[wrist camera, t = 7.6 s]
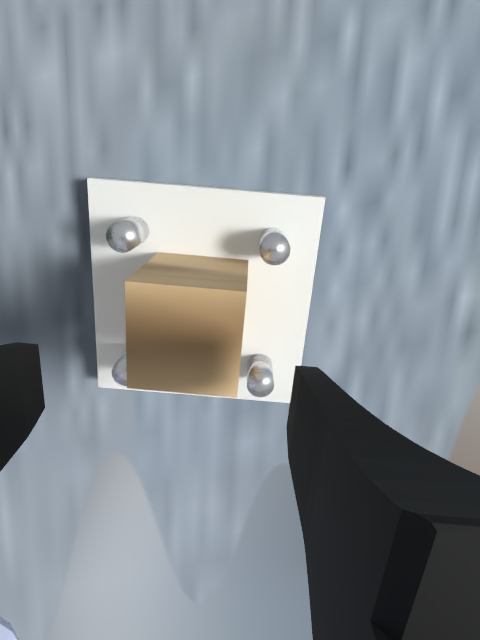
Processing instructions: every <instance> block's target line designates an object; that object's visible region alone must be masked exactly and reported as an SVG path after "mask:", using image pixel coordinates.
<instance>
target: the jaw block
mask: <svg viewBox="0 0 480 640" xmlns="http://www.w3.org/2000/svg"><path fill="white" fill-rule="evenodd" d="M248 261H249V260H243V259H232V258H221V257H209V256H198V255H187V254H175V253H164V252H158V253H157V254H156V255H155V256H153V257H152V258H151V259H150V260H149V261H148V262H147V263H145V264H144V265H143V266H142V267H141V268H140V269H138V270H137V271H136V272H135V273H134V274H133V275H131V276H130V277H129V278H128V279H127V280H126V281H125V319H126V370H127V388H131V389H142V390H153V391H165V392H176V393H187V394H199V395H210V396H221V397H233V398H237V393H238V383H239V372H240V361H241V350H242V339H243V328H244V317H245V307H246V296H247V280H248Z"/></svg>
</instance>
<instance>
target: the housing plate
mask: <svg viewBox="0 0 480 640" xmlns="http://www.w3.org/2000/svg"><path fill="white" fill-rule="evenodd" d="M87 185H88V203H89V222H90V240H91V259H92V277H93V295H94V314H95V332H96V351H97V369H98V387H104V388H116V389H128V390H140V391H152V392H164V393H176V392H165V391H153V390H142V389H131V388H127V370H126V319H125V281H126V280H127V279H128V278H129V277H130V276H131V275H133V274H134V273H135V272H136V271H137V270H138V269H140V268H141V267H142V266H143V265H144V264H145V263H147V262H148V261H149V260H150V259H151V258H152V257H153V256H155V255H156V254H157V253H158V252H164V253H175V254H187V255H198V256H209V257H221V258H232V259H243V260H249V261H248V280H247V296H246V307H245V317H244V328H243V339H242V350H241V361H240V372H239V383H238V393H237V398H236V399H248V400H260V401H272V402H284V403H290V400H291V393H292V386H293V379H294V372H295V366H301V362H302V355H303V348H304V341H305V334H306V327H307V321H308V314H309V307H310V300H311V293H312V286H313V279H314V272H315V266H316V259H317V252H318V245H319V238H320V231H321V224H322V217H323V211H324V204H325V197H322V196H315V195H303V194H291V193H279V192H267V191H254V190H242V189H230V188H218V187H206V186H194V185H181V184H169V183H157V182H145V181H133V180H121V179H108V178H87ZM176 394H187V393H176ZM188 395H199V394H188ZM200 396H210V395H200ZM212 397H221V396H212ZM224 398H233V397H224Z"/></svg>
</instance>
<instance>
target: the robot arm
mask: <svg viewBox="0 0 480 640" xmlns="http://www.w3.org/2000/svg"><path fill="white" fill-rule="evenodd" d="M44 408H45V403H44V394H43V385H42V376H41V366H40V357H39V348H38V344H28V343H10V344H5V345H1V346H0V471H1V470H2V469H3V467H4V466H5V465H6V464H7V463H8V461H9V460H10V459H11V458H12V456H13V455H14V454H15V453H16V451H17V450H18V449H19V448H20V446H21V445H22V444H23V442H24V441H25V440H26V439H27V437H28V436H29V434H30V432H31V431H32V429H33V428H34V426H35V424H36V423H37V421H38V419H39V417H40V416H41V414H42V412H43V410H44ZM287 443H288V458H289V464H290V469H291V474H292V480H293V485H294V490H295V495H296V500H297V505H298V510H299V516H300V521H301V526H302V531H303V538H304V544H305V552H306V563H307V574H308V584H309V596H310V609H311V621H312V634H313V640H480V476H479V475H477V474H475V473H472V472H470V471H468V470H466V469H464V468H462V467H460V466H457V465H455V464H453V463H451V462H449V461H447V460H446V459H444V458H442V457H440V456H438V455H436V454H434V453H432V452H430V451H428V450H426V449H425V448H423V447H421V446H419V445H418V444H416V443H414V442H412V441H411V440H409V439H408V438H406V437H405V436H403V435H401V434H400V433H398V432H397V431H395V430H393V429H392V428H390V427H389V426H388V425H386V424H385V423H383V422H382V421H381V420H379V419H378V418H377V417H375V416H374V415H373V414H371V413H370V412H369V411H367V410H366V409H365V408H364V407H362V406H361V405H360V404H359V403H357V402H356V401H355V400H354V399H353V398H352V397H350V396H349V395H348V394H347V393H346V392H345V391H344V390H342V389H341V388H340V387H339V386H338V385H337V384H336V383H335V382H334V381H333V380H331V379H330V378H329V377H328V376H327V375H326V374H325V373H324V372H323V371H321V370H320V369H319V368H317V367H307V366H295V372H294V379H293V386H292V393H291V400H290V407H289V415H288V422H287ZM0 640H19V639H18V637H17V635H16V633H15V631H14V630H13V628H12V626H11V624H10V623H9V622H7V621H6V620H4V619H3V618H1V617H0Z"/></svg>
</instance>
